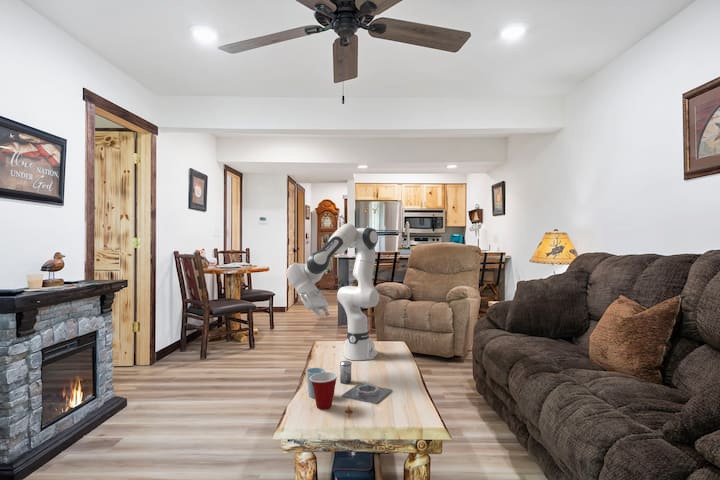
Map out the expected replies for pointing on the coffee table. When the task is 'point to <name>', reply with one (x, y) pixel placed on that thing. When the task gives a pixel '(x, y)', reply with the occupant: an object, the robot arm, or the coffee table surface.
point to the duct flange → (367, 393)
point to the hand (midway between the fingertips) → (324, 316)
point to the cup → (310, 386)
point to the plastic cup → (324, 389)
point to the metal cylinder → (345, 372)
